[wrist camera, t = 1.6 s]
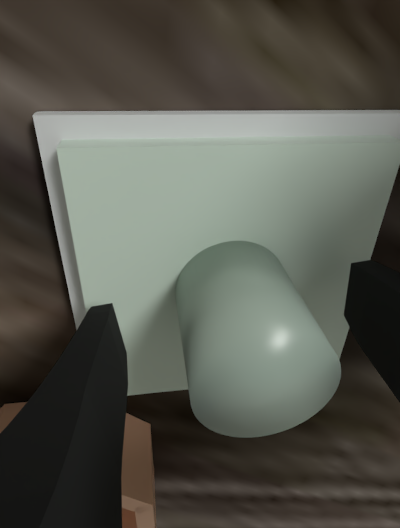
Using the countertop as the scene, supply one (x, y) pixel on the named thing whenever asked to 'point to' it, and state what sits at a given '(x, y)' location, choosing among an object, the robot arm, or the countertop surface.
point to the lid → (228, 262)
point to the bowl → (124, 469)
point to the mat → (180, 126)
